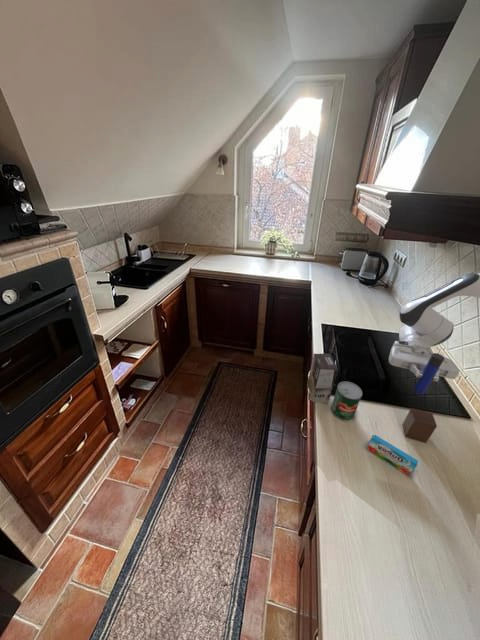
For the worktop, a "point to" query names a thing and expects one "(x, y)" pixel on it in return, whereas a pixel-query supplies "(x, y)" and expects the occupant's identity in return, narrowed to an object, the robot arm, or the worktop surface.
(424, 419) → the walnut block
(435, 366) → the dark blue flat piece
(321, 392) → the coffee box
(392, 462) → the yogurt
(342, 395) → the canned tomato
